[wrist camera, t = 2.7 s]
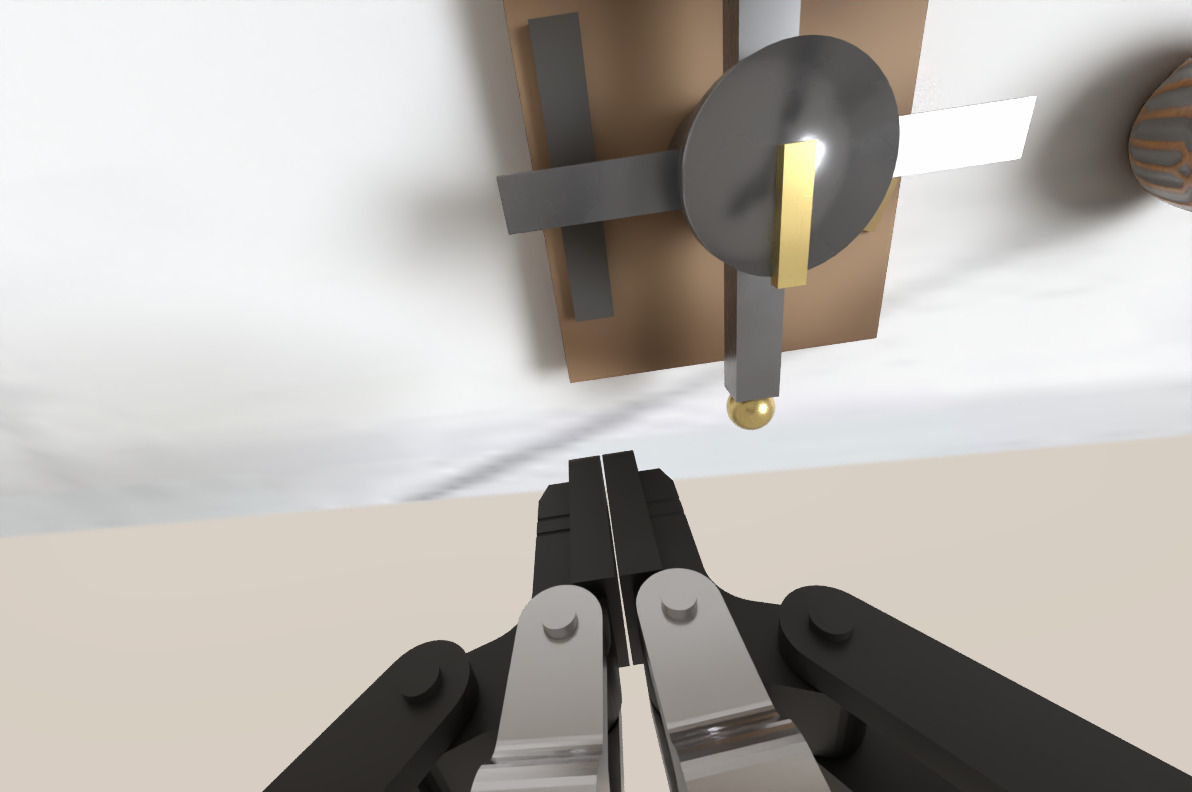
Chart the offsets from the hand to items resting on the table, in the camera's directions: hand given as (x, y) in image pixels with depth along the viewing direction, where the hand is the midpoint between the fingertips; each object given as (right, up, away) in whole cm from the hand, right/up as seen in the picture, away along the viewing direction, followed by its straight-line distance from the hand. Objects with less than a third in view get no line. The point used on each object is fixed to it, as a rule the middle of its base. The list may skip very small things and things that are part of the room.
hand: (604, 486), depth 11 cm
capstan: (+4, +11, +7) cm, 13 cm away
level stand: (+4, +12, +8) cm, 15 cm away
